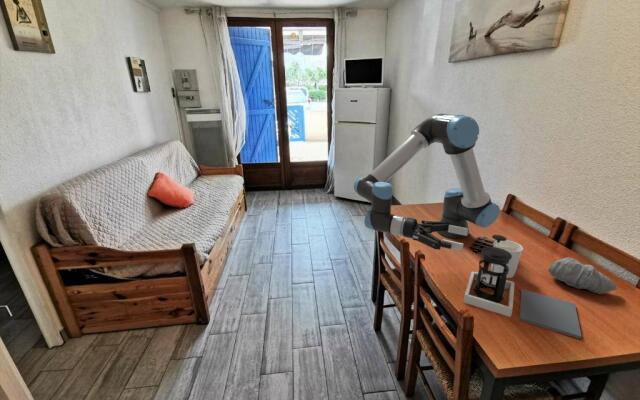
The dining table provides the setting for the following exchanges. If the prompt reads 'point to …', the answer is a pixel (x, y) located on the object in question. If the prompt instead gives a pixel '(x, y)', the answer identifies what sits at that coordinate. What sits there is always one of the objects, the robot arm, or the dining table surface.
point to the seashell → (581, 276)
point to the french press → (489, 277)
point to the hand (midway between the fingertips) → (465, 239)
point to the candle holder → (513, 262)
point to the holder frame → (486, 303)
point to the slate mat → (549, 313)
